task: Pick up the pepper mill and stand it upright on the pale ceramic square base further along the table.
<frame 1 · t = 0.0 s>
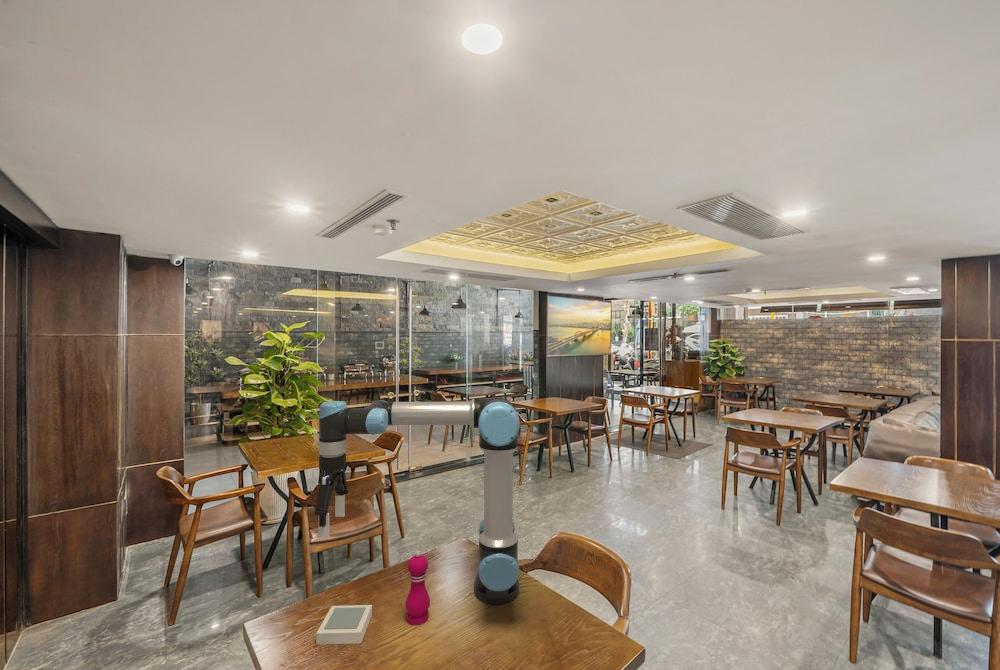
hand: (332, 526, 126), 28 cm above the table, fingers open, 13 cm apart
pepper mill: (417, 618, 127), on the table
base: (345, 628, 123), on the table
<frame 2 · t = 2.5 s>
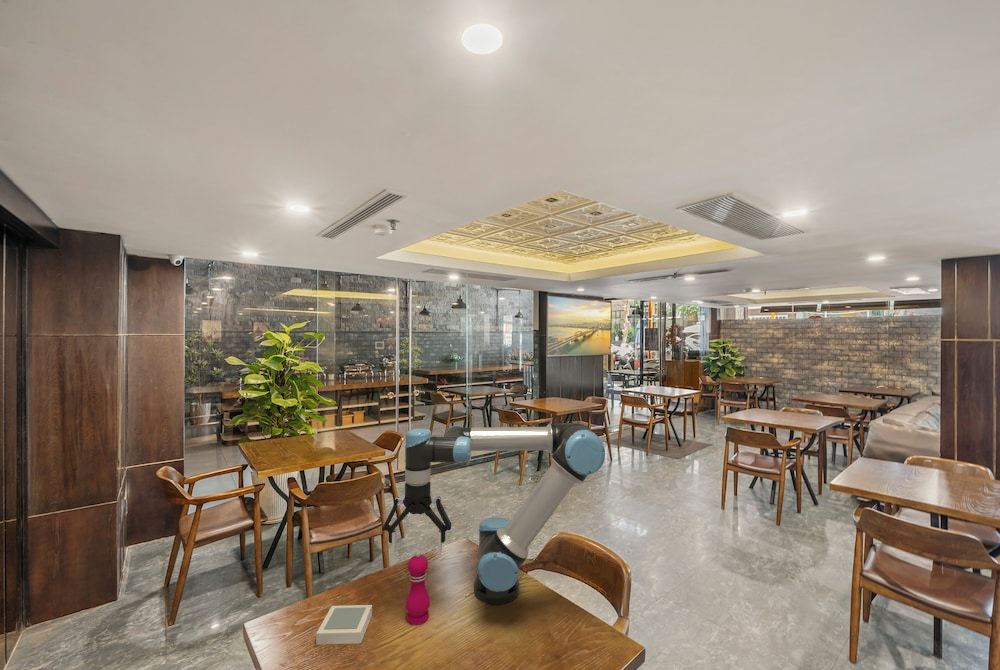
hand: (416, 553, 128), 19 cm above the table, fingers open, 13 cm apart
nothing on the table moved.
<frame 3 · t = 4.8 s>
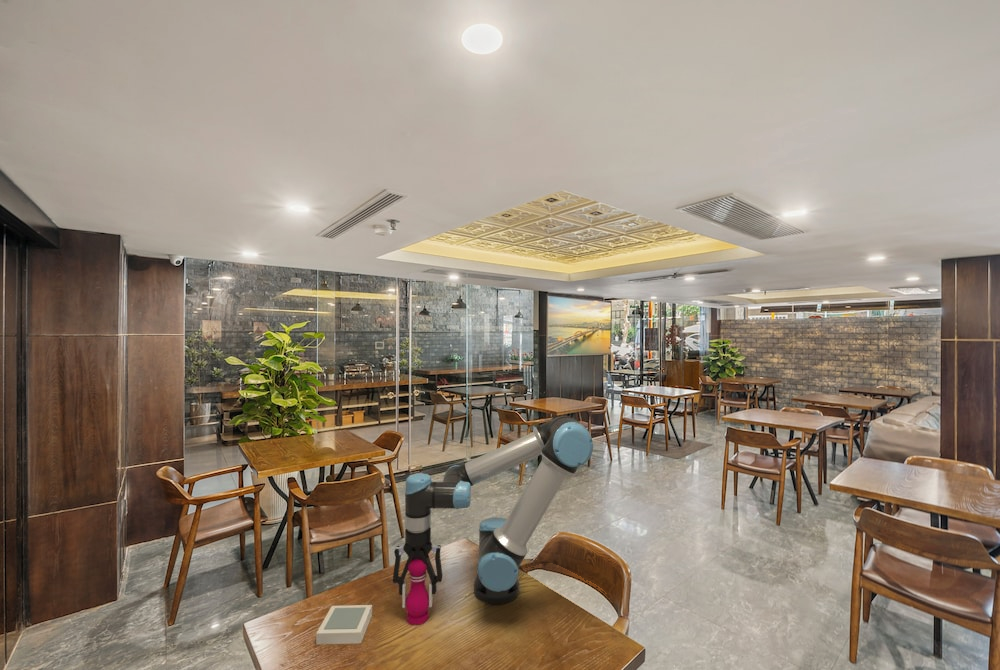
hand: (417, 604, 128), 4 cm above the table, fingers closed on pepper mill, 7 cm apart
pepper mill: (417, 618, 127), on the table, touching gripper
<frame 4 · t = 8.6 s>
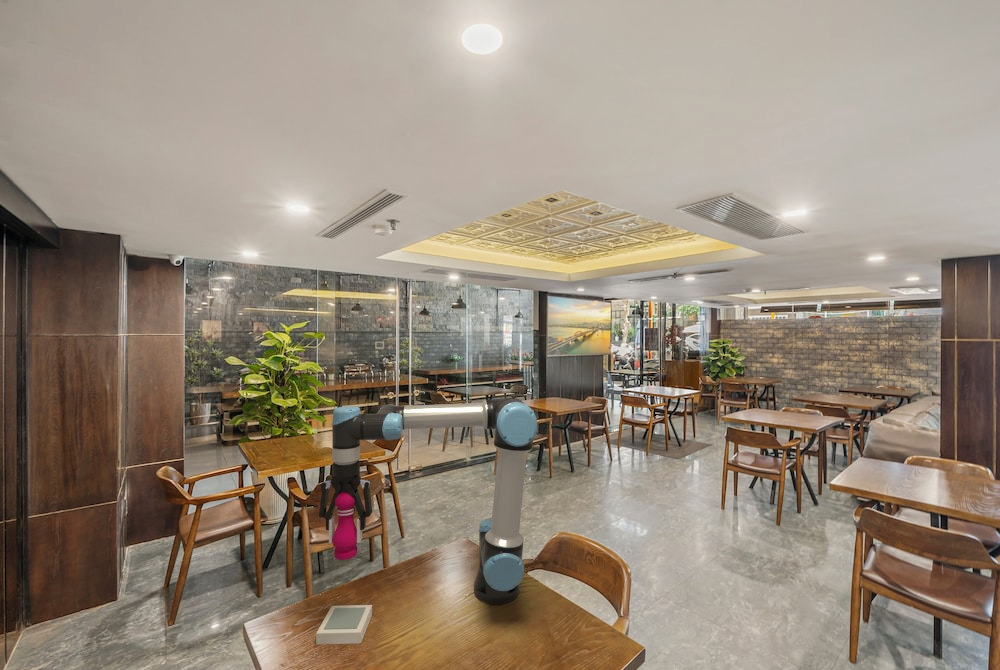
hand: (345, 540, 123), 25 cm above the table, fingers closed on pepper mill, 7 cm apart
pepper mill: (345, 555, 123), point 21 cm above the table, touching gripper
when the fingers open (8 cm above the table, at t = 12.4 s): pepper mill stays where it is, resting on base.
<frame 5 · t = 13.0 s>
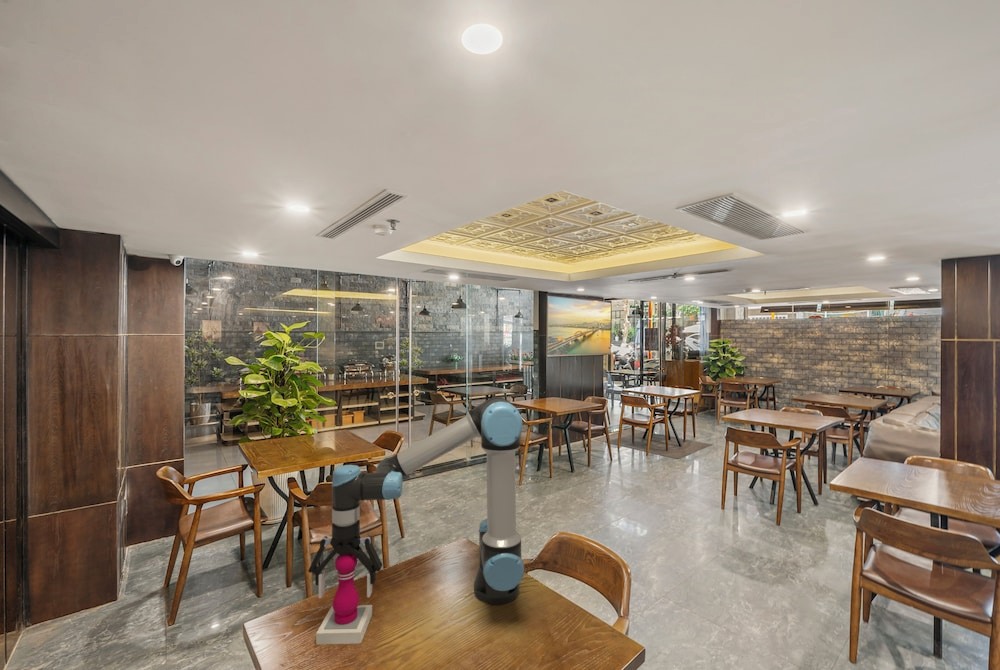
hand: (345, 595, 123), 10 cm above the table, fingers open, 13 cm apart
pepper mill: (346, 618, 123), point 3 cm above the table, touching base
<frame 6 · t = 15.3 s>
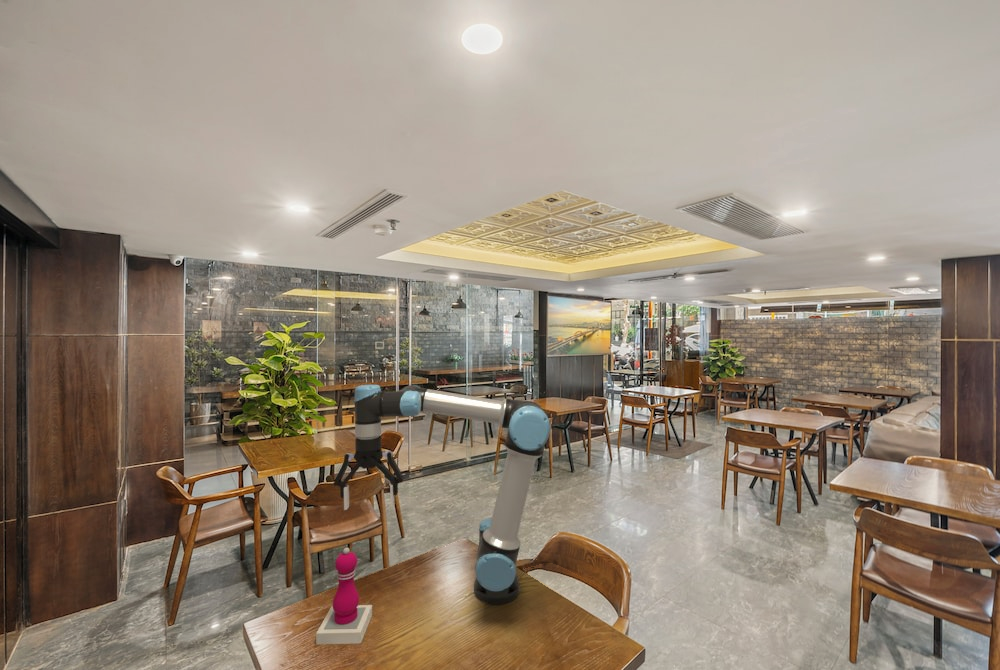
hand: (369, 507, 129), 33 cm above the table, fingers open, 13 cm apart
nothing on the table moved.
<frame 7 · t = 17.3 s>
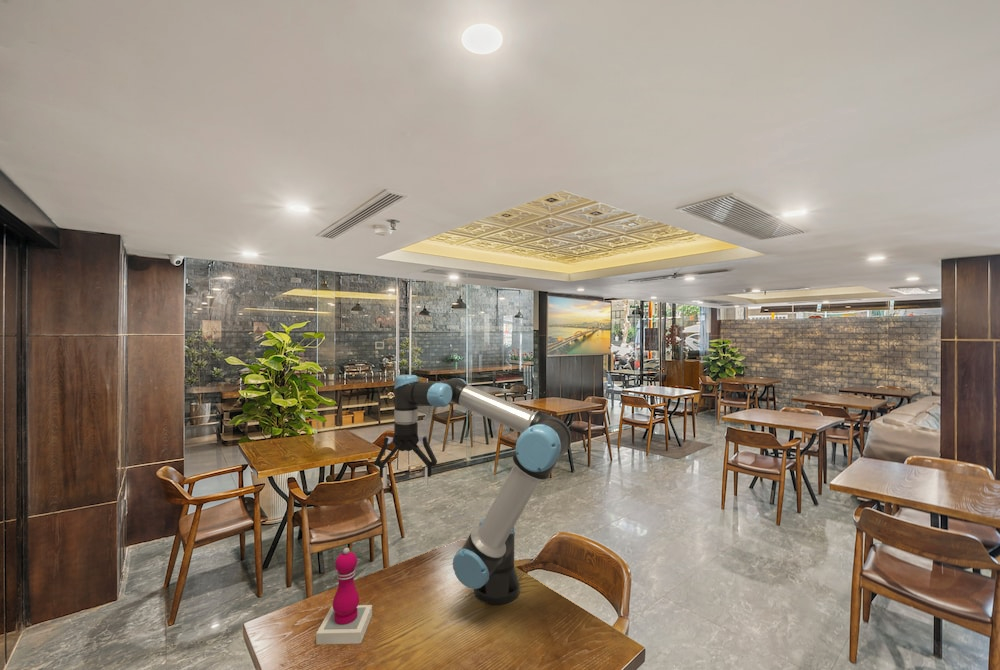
hand: (405, 486, 140), 35 cm above the table, fingers open, 13 cm apart
nothing on the table moved.
at the end: pepper mill inside the target area on the base (0.1 cm from its centre), point 3.1 cm above the base's base; pepper mill tilted 0°; pepper mill touching base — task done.
